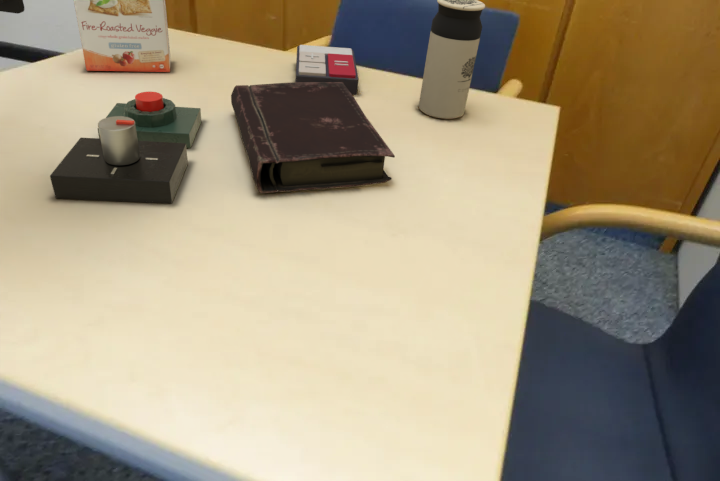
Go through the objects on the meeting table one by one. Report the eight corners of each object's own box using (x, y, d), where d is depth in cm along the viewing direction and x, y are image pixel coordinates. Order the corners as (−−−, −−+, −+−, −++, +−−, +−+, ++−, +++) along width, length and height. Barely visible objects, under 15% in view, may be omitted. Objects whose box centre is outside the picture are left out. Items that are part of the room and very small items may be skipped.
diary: (254, 196, 68) (254, 159, 65) (231, 114, 87) (230, 83, 84) (396, 185, 74) (401, 151, 71) (345, 110, 93) (347, 81, 90)
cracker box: (86, 72, 96) (59, -64, 84) (90, 61, 100) (66, -70, 88) (171, 73, 99) (157, -58, 87) (172, 62, 104) (159, -64, 92)
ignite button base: (100, 143, 75) (94, 115, 73) (119, 116, 83) (114, 90, 80) (190, 148, 77) (188, 121, 74) (201, 121, 84) (199, 96, 82)
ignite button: (133, 112, 76) (131, 100, 75) (140, 102, 79) (138, 90, 78) (160, 114, 76) (159, 101, 75) (166, 104, 79) (165, 92, 78)
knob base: (55, 198, 64) (49, 174, 62) (85, 158, 72) (80, 136, 70) (171, 203, 65) (169, 180, 63) (188, 163, 73) (185, 141, 71)
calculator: (295, 71, 95) (297, 41, 107) (295, 95, 98) (296, 63, 110) (359, 75, 97) (353, 45, 108) (356, 98, 99) (351, 66, 111)
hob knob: (99, 164, 65) (92, 126, 62) (110, 149, 68) (103, 112, 65) (135, 166, 65) (129, 128, 62) (143, 151, 68) (138, 114, 66)
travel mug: (408, 106, 97) (425, -4, 86) (441, 99, 101) (460, -6, 91) (440, 123, 92) (462, 9, 82) (473, 115, 96) (497, 6, 86)
